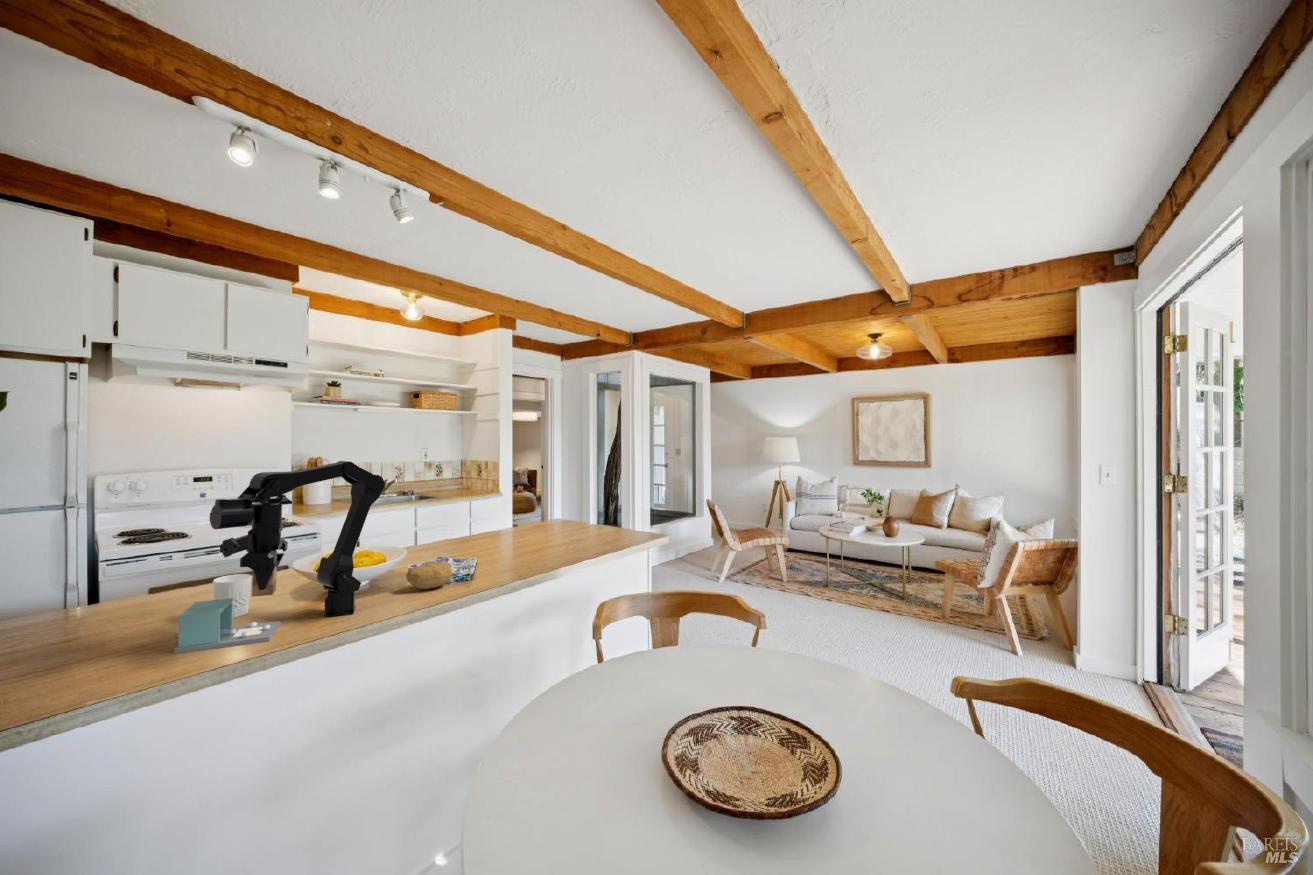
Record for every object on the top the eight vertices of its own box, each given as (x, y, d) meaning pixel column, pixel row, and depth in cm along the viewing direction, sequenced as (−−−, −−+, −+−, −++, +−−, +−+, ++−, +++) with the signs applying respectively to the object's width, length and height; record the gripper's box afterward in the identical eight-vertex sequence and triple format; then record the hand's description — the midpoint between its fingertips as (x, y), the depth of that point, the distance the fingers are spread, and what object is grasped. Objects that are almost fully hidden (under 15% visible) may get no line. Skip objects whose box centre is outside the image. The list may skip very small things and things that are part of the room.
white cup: (233, 620, 129) (234, 582, 129) (203, 619, 129) (204, 581, 129) (258, 610, 137) (259, 574, 137) (230, 609, 137) (231, 573, 137)
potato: (401, 588, 159) (402, 564, 158) (445, 580, 168) (446, 557, 168) (411, 596, 151) (411, 570, 151) (456, 587, 161) (457, 563, 161)
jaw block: (275, 590, 123) (276, 566, 123) (272, 594, 120) (273, 570, 120) (255, 592, 121) (256, 567, 121) (251, 596, 118) (252, 571, 118)
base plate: (279, 624, 127) (279, 617, 127) (269, 641, 117) (269, 632, 117) (193, 635, 119) (193, 627, 119) (174, 653, 109) (174, 644, 109)
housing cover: (232, 627, 122) (232, 598, 122) (218, 642, 113) (219, 611, 113) (195, 631, 119) (195, 601, 119) (178, 647, 110) (179, 615, 110)
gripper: (235, 519, 125) (232, 580, 125) (211, 532, 108) (208, 602, 108) (289, 517, 130) (286, 576, 130) (274, 529, 114) (271, 596, 114)
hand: (264, 587), depth 120 cm, fingers closed on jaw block, 4 cm apart
